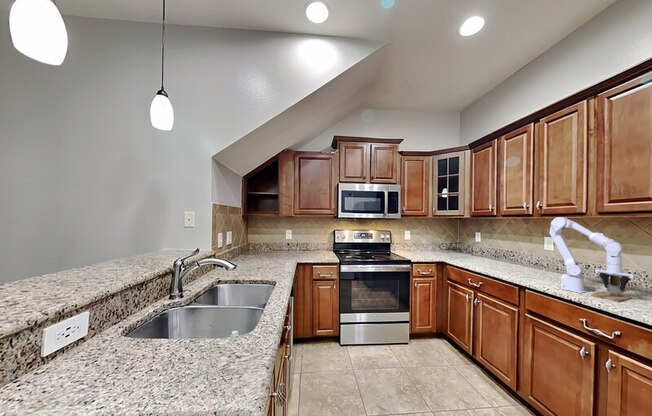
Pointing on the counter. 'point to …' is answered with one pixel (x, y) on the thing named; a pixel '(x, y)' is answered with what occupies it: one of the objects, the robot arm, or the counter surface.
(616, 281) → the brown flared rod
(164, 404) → the counter surface
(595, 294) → the post board
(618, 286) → the hub ring
